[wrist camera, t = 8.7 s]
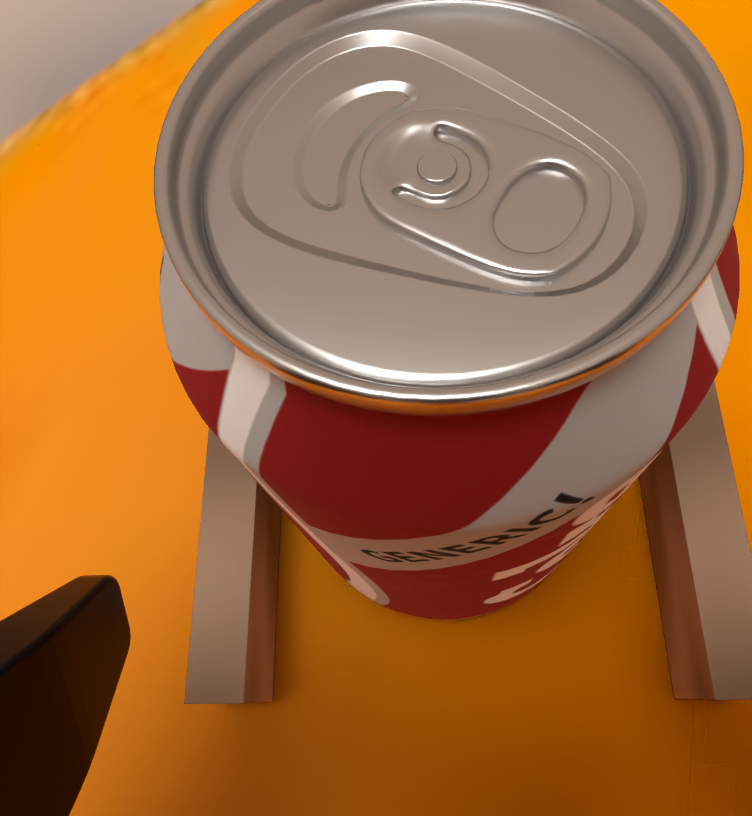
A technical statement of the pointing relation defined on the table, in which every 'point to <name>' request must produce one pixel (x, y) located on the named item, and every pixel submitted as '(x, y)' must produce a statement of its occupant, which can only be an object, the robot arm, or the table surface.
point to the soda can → (449, 272)
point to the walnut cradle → (669, 542)
